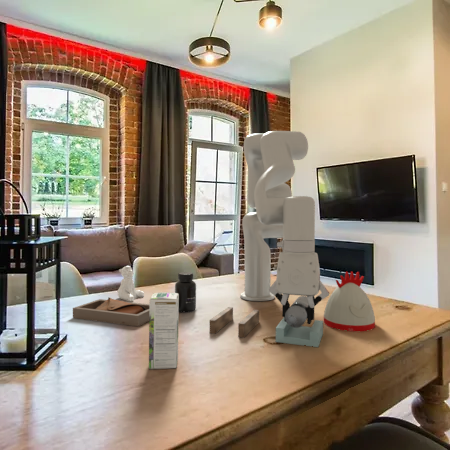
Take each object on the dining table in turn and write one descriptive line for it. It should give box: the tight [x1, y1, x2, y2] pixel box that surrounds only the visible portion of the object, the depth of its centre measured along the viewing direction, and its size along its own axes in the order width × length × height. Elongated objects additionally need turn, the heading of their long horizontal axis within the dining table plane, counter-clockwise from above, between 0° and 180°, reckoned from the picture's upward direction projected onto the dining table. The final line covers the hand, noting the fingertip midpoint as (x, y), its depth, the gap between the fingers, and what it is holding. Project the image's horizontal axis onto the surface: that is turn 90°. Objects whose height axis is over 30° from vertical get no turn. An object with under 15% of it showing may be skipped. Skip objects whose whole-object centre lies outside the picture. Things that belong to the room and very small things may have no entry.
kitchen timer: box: [323, 271, 376, 332], centre depth 105 cm, size 14×14×15 cm
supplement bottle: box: [174, 271, 197, 313], centre depth 119 cm, size 7×7×12 cm
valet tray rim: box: [72, 298, 149, 328], centre depth 112 cm, size 12×23×3 cm, turn 69°
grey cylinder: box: [285, 295, 309, 328], centre depth 92 cm, size 13×5×5 cm, turn 159°
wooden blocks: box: [209, 306, 260, 338], centre depth 101 cm, size 14×10×4 cm
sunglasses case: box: [96, 297, 146, 323], centre depth 112 cm, size 18×7×7 cm, turn 54°
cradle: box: [275, 317, 324, 348], centre depth 93 cm, size 10×10×4 cm
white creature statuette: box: [117, 265, 145, 303], centre depth 135 cm, size 10×9×12 cm
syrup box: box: [148, 291, 180, 370], centre depth 77 cm, size 6×6×14 cm
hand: (298, 320), depth 90 cm, fingers closed on grey cylinder, 4 cm apart
